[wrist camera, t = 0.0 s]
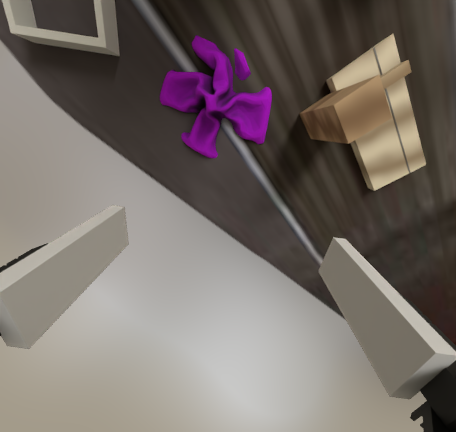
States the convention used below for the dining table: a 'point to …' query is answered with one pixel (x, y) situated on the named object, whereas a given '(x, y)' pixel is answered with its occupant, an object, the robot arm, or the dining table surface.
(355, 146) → the board
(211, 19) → the dining table surface
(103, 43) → the white shallow tray
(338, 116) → the tan angular block
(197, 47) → the cloth
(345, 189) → the dining table surface
